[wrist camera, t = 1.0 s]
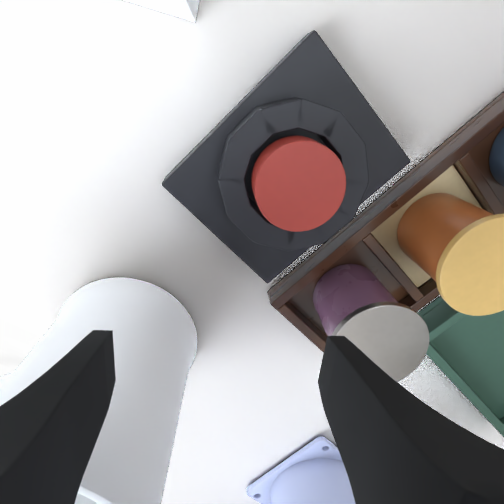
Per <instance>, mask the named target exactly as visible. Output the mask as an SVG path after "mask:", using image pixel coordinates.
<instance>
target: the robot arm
mask: <svg viewBox="0 0 504 504" xmlns="http://www.w3.org/2000/svg"><path fill="white" fill-rule="evenodd" d="M115 381H116V376H115V361H114V345H113V330H93V331H91V332H90V333H89V334H88V335H87V336H86V337H85V338H83V339H82V340H81V341H80V342H79V343H78V344H77V345H76V346H75V347H74V348H73V349H71V350H70V351H69V352H68V353H67V354H66V355H65V356H64V357H63V358H61V359H60V360H59V361H58V362H57V363H56V364H54V365H53V366H52V367H51V368H50V369H49V370H48V371H46V372H45V373H44V374H43V375H41V376H40V377H39V378H38V379H36V380H35V381H34V382H33V383H31V384H30V385H29V386H28V387H26V388H25V389H24V390H22V391H21V392H20V393H18V394H17V395H16V396H14V397H13V398H11V399H10V400H8V401H7V402H5V403H4V404H2V405H1V406H0V504H75V500H76V497H77V493H78V490H79V487H80V484H81V481H82V478H83V475H84V473H85V470H86V467H87V465H88V462H89V460H90V457H91V454H92V452H93V449H94V447H95V444H96V441H97V439H98V436H99V434H100V431H101V428H102V426H103V423H104V420H105V418H106V415H107V412H108V409H109V406H110V402H111V398H112V394H113V390H114V385H115ZM318 384H319V389H320V394H321V399H322V403H323V407H324V411H325V414H326V417H327V419H328V422H329V425H330V428H331V431H332V433H333V436H334V439H335V442H336V444H337V446H335V445H334V444H333V443H331V442H330V441H329V440H328V439H326V438H325V437H317V438H316V439H314V440H313V441H311V442H310V443H309V444H307V445H306V446H304V447H303V448H302V449H300V450H299V451H297V452H296V453H295V454H293V455H292V456H290V457H289V458H287V459H286V460H285V461H283V462H282V463H280V464H279V465H278V466H276V467H275V468H273V469H272V470H271V471H269V472H268V473H266V474H265V475H263V476H262V477H261V478H259V479H258V480H256V481H255V482H254V483H252V484H251V485H249V486H248V487H247V489H246V490H247V495H248V496H250V497H251V498H253V499H254V500H256V501H258V502H259V503H261V504H504V450H503V449H501V448H499V447H497V446H495V445H493V444H491V443H489V442H488V441H486V440H484V439H482V438H480V437H478V436H476V435H475V434H473V433H471V432H469V431H468V430H466V429H464V428H462V427H461V426H459V425H457V424H456V423H454V422H452V421H451V420H449V419H447V418H446V417H444V416H443V415H441V414H440V413H438V412H437V411H435V410H434V409H432V408H431V407H429V406H428V405H426V404H425V403H424V402H422V401H421V400H419V399H418V398H417V397H415V396H414V395H413V394H411V393H410V392H409V391H407V390H406V389H405V388H404V387H402V386H401V385H400V384H399V383H397V382H396V381H395V380H394V379H393V378H391V377H390V376H389V375H388V374H387V373H385V372H384V371H383V370H382V369H381V368H380V367H379V366H377V365H376V364H375V363H374V362H373V361H372V360H371V359H370V358H369V357H367V356H366V355H365V354H364V353H363V352H362V351H361V350H360V349H359V348H358V347H357V346H355V345H354V344H353V343H352V342H351V341H350V340H349V339H348V338H346V337H345V336H327V340H326V345H325V350H324V355H323V360H322V365H321V370H320V375H319V380H318Z"/></svg>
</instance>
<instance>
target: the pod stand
mask: <svg viewBox="0 0 504 504" xmlns="http://www.w3.org/2000/svg"><path fill="white" fill-rule="evenodd" d="M503 128H504V92H503V93H502V94H501V95H499V96H498V97H497V98H496V99H495V100H494V101H492V102H491V103H490V104H489V105H488V106H486V107H485V108H484V109H483V110H482V111H481V112H479V113H478V114H477V115H476V116H475V117H473V118H472V119H471V120H470V121H469V122H468V123H466V124H465V125H464V126H463V127H462V128H460V129H459V130H458V131H457V132H456V133H455V134H453V135H452V136H451V137H450V138H449V139H447V140H446V141H445V142H444V143H443V144H442V145H440V146H439V147H438V148H437V149H436V150H434V151H433V152H432V153H431V154H430V155H429V156H427V157H426V158H425V159H424V160H423V161H421V162H420V163H419V164H418V165H417V166H416V167H414V168H413V169H412V170H411V171H410V172H408V173H407V174H406V175H405V176H404V177H402V178H401V179H400V180H399V181H398V182H397V183H395V184H394V185H393V186H392V187H391V188H389V189H388V190H387V191H386V192H385V193H384V194H382V195H381V196H380V197H379V198H378V199H376V200H375V201H374V202H373V203H372V204H371V205H369V206H368V207H367V208H366V209H365V210H363V211H362V212H361V213H360V214H359V215H358V216H356V217H355V218H354V219H353V220H352V221H350V222H349V223H348V224H347V225H346V226H345V227H343V228H342V229H341V230H340V231H339V232H337V233H336V234H335V235H334V236H333V237H332V238H330V239H329V240H328V241H327V242H326V243H324V244H323V245H322V246H321V247H320V248H319V249H317V250H316V251H315V252H314V253H313V254H311V255H310V256H309V257H308V258H307V259H306V260H304V261H303V262H302V263H301V264H300V265H298V266H297V267H296V268H295V269H294V270H293V271H291V272H290V273H289V274H288V275H287V276H285V277H284V278H283V279H282V280H281V281H280V282H278V283H277V284H276V285H275V286H274V287H272V288H271V289H270V290H269V291H268V296H269V300H270V304H271V305H272V306H273V307H274V308H275V309H276V310H278V311H279V312H280V313H281V314H282V315H283V316H284V317H285V318H286V319H287V320H288V321H290V322H291V323H292V324H293V325H294V326H295V327H296V328H297V329H298V330H299V331H301V332H302V333H303V334H304V335H305V336H306V337H307V338H308V339H309V340H310V341H312V342H313V343H314V344H315V345H316V346H317V347H318V348H319V349H320V350H321V351H323V352H324V350H325V345H326V340H327V334H326V332H325V330H324V327H323V325H322V323H321V321H320V318H319V316H318V314H317V312H316V309H315V307H314V304H313V292H314V289H315V286H316V284H317V282H318V281H319V279H320V278H321V277H322V276H323V275H324V274H325V273H327V272H328V271H329V270H331V269H333V268H335V267H337V266H340V265H345V264H357V265H361V266H364V267H366V268H368V269H369V270H371V271H372V272H373V273H374V274H375V275H376V277H377V278H378V279H379V280H380V281H381V283H382V284H383V285H384V286H385V287H386V289H387V290H388V291H389V292H390V293H391V295H392V296H393V297H394V298H395V299H396V301H397V302H398V303H401V304H404V305H407V306H409V307H411V308H412V309H414V310H415V311H416V312H417V311H418V310H419V309H421V308H422V307H423V306H425V305H426V304H427V303H429V302H430V301H431V300H433V299H434V298H435V297H437V296H438V295H439V294H440V293H439V291H438V288H437V284H436V281H435V280H434V279H432V278H431V277H430V276H429V275H428V274H427V273H426V272H425V271H424V270H422V269H421V268H420V267H419V266H418V265H417V264H416V263H415V262H414V261H412V260H411V259H410V258H409V257H408V256H407V255H406V254H405V253H404V252H403V251H402V250H401V248H400V246H399V243H398V238H397V230H398V225H399V222H400V220H401V218H402V216H403V214H404V213H405V211H406V210H407V209H408V208H409V207H410V206H411V205H412V204H413V203H414V202H416V201H417V200H418V199H420V198H422V197H424V196H426V195H430V194H434V193H447V194H451V195H454V196H456V197H458V198H460V199H462V200H464V201H467V202H469V203H471V204H473V205H475V206H477V207H479V208H481V209H484V210H486V211H488V212H490V213H492V214H494V215H496V214H504V186H502V185H501V184H499V183H498V182H497V181H496V180H495V179H494V177H493V175H492V173H491V170H490V166H489V156H490V151H491V148H492V145H493V143H494V140H495V139H496V137H497V135H498V134H499V132H500V131H501V130H502V129H503Z"/></svg>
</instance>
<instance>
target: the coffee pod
mask: <svg viewBox="0 0 504 504" xmlns="http://www.w3.org/2000/svg"><path fill="white" fill-rule="evenodd" d="M397 238H398V243H399V246H400V248H401V250H402V251H403V252H404V253H405V254H406V255H407V256H408V257H409V258H410V259H411V260H412V261H414V262H415V263H416V264H417V265H418V266H419V267H420V268H421V269H422V270H424V271H425V272H426V273H427V274H428V275H429V276H430V277H431V278H432V279H434V280H435V281H436V284H437V288H438V291H439V293H440V295H441V297H442V298H443V300H444V301H445V302H446V303H447V304H448V305H449V306H450V307H452V308H453V309H455V310H456V311H458V312H460V313H463V314H467V315H472V316H483V315H490V314H494V313H497V312H500V311H503V310H504V214H496V215H494V214H492V213H490V212H488V211H486V210H484V209H481V208H479V207H477V206H475V205H473V204H471V203H469V202H467V201H464V200H462V199H460V198H458V197H456V196H454V195H451V194H447V193H434V194H430V195H426V196H424V197H422V198H420V199H418V200H417V201H416V202H414V203H413V204H412V205H411V206H410V207H409V208H408V209H407V210H406V211H405V213H404V214H403V216H402V218H401V220H400V222H399V225H398V230H397Z"/></svg>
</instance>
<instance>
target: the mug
mask: <svg viewBox="0 0 504 504" xmlns="http://www.w3.org/2000/svg"><path fill="white" fill-rule="evenodd" d="M93 330H113V345H114V361H115V376H116V381H115V385H114V390H113V394H112V398H111V402H110V406H109V409H108V412H107V415H106V418H105V420H104V423H103V426H102V428H101V431H100V434H99V436H98V439H97V441H96V444H95V447H94V449H93V452H92V454H91V457H90V460H89V462H88V465H87V467H86V470H85V473H84V475H83V478H82V481H81V484H80V487H79V490H78V493H77V497H76V500H75V504H161V501H162V496H163V491H164V486H165V482H166V477H167V472H168V467H169V462H170V457H171V453H172V448H173V443H174V438H175V433H176V428H177V424H178V419H179V414H180V409H181V404H182V399H183V395H184V390H185V385H186V380H187V376H188V372H189V369H190V368H191V366H192V364H193V361H194V359H195V356H196V352H197V333H196V329H195V325H194V323H193V320H192V318H191V316H190V315H189V313H188V312H187V310H186V309H185V308H184V306H183V305H182V304H181V303H180V302H179V301H178V300H177V299H176V298H175V297H174V296H172V295H171V294H170V293H168V292H167V291H165V290H164V289H162V288H160V287H158V286H156V285H154V284H151V283H149V282H146V281H142V280H138V279H133V278H123V277H116V278H106V279H101V280H97V281H94V282H91V283H89V284H87V285H85V286H83V287H81V288H80V289H78V290H77V291H75V292H74V293H73V294H72V295H71V296H70V297H69V298H68V299H67V300H66V302H65V303H64V304H63V306H62V308H61V310H60V312H59V314H58V317H57V319H56V320H55V322H54V323H53V324H52V325H51V327H50V328H49V329H48V330H47V332H46V333H45V334H44V335H43V337H42V338H41V339H40V340H39V341H38V343H37V344H36V345H35V346H34V347H33V349H32V350H31V351H30V352H29V354H28V355H27V356H26V357H25V358H24V360H23V361H22V362H21V363H20V365H19V366H18V367H17V368H16V369H15V371H14V372H12V373H8V374H5V375H2V376H0V406H1V405H2V404H4V403H5V402H7V401H8V400H10V399H11V398H13V397H14V396H16V395H17V394H18V393H20V392H21V391H22V390H24V389H25V388H26V387H28V386H29V385H30V384H31V383H33V382H34V381H35V380H36V379H38V378H39V377H40V376H41V375H43V374H44V373H45V372H46V371H48V370H49V369H50V368H51V367H52V366H53V365H54V364H56V363H57V362H58V361H59V360H60V359H61V358H63V357H64V356H65V355H66V354H67V353H68V352H69V351H70V350H71V349H73V348H74V347H75V346H76V345H77V344H78V343H79V342H80V341H81V340H82V339H83V338H85V337H86V336H87V335H88V334H89V333H90V332H91V331H93Z"/></svg>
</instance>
